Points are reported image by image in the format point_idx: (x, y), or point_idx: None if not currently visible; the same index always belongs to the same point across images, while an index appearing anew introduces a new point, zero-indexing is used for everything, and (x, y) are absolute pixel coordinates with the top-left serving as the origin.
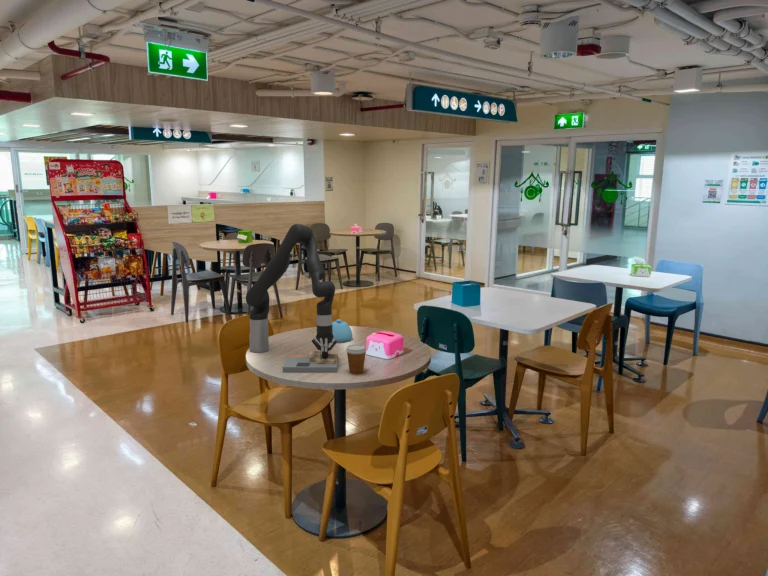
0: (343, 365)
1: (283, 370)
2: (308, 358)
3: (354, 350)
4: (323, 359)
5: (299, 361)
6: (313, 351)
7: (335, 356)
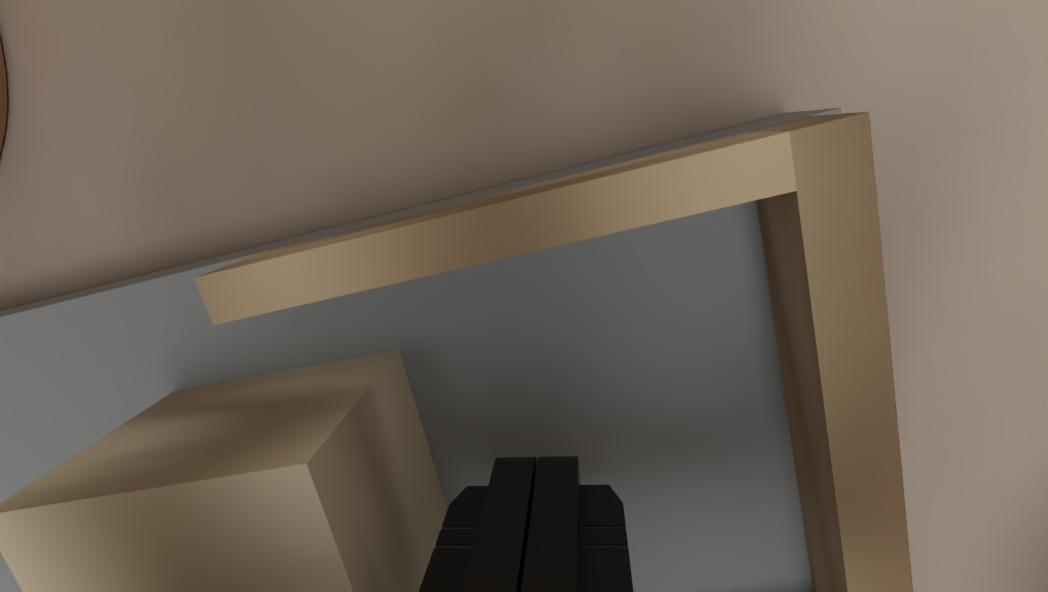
0: (925, 294)
1: None
2: (108, 377)
3: None
4: (465, 372)
5: None
6: (92, 555)
7: (835, 440)
